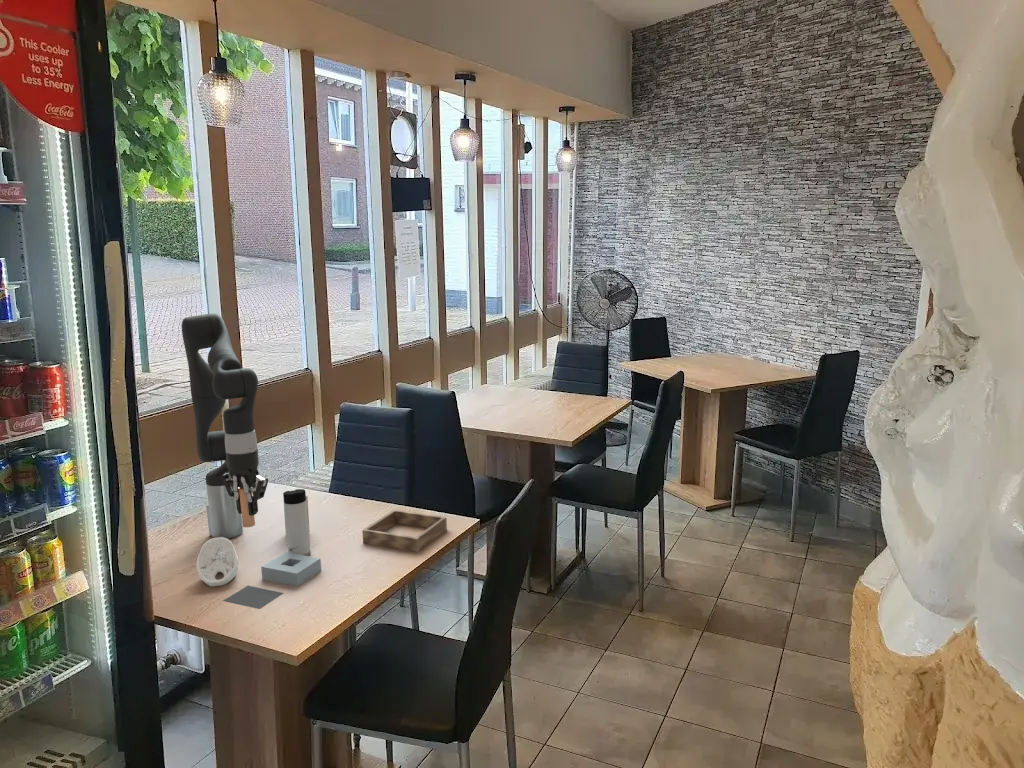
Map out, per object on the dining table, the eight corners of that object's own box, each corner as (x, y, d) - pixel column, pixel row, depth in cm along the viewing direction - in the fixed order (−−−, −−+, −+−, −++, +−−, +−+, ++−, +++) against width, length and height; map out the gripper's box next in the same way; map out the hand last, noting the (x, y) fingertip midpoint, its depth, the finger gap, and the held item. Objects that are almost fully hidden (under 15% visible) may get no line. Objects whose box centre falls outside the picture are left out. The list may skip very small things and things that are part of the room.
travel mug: (291, 561, 219) (285, 495, 215) (286, 553, 225) (280, 488, 221) (313, 556, 222) (307, 491, 218) (307, 548, 228) (302, 484, 224)
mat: (223, 602, 196) (222, 600, 196) (247, 586, 204) (247, 585, 204) (260, 610, 192) (259, 608, 191) (283, 594, 200) (283, 592, 200)
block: (262, 580, 208) (261, 566, 207) (286, 565, 217) (285, 552, 216) (298, 587, 203) (296, 573, 202) (321, 571, 212) (320, 558, 211)
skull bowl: (243, 557, 220) (238, 531, 211) (241, 600, 210) (235, 575, 202) (204, 561, 217) (197, 535, 209) (200, 605, 208) (192, 580, 199)
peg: (240, 526, 194) (236, 489, 192) (248, 522, 197) (244, 485, 195) (249, 528, 193) (245, 490, 191) (257, 523, 196) (254, 486, 194)
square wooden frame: (363, 542, 231) (362, 530, 230) (394, 521, 247) (394, 509, 247) (417, 551, 224) (417, 538, 223) (446, 529, 240) (446, 517, 239)
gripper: (208, 449, 190) (215, 515, 194) (253, 455, 185) (259, 522, 188) (230, 441, 197) (237, 505, 200) (274, 447, 191) (279, 512, 195)
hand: (247, 513), depth 194 cm, fingers closed on peg, 3 cm apart
